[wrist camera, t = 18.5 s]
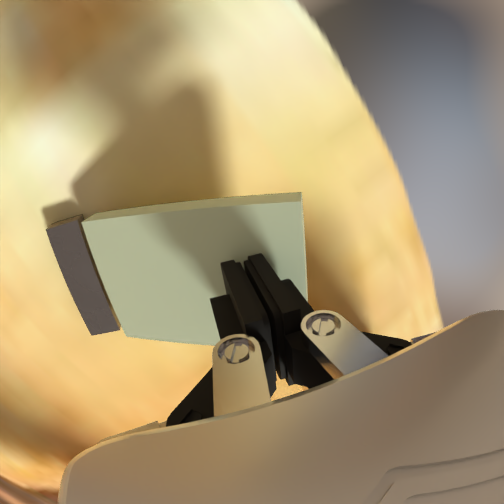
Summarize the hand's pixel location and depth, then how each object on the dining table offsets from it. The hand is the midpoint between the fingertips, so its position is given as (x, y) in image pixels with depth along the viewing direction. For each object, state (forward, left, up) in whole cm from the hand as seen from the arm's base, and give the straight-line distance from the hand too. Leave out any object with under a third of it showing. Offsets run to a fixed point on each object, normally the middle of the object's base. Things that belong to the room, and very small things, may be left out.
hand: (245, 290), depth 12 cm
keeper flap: (0, +7, -4) cm, 8 cm away
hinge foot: (0, +8, -5) cm, 10 cm away
